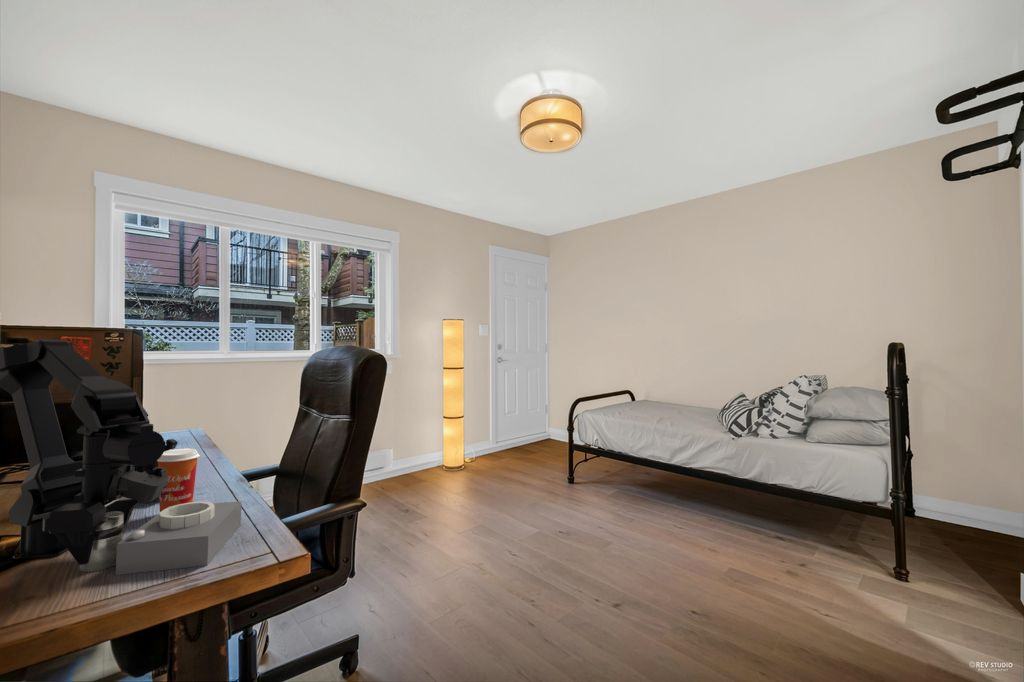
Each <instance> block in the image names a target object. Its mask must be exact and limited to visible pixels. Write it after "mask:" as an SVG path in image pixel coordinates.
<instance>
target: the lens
mask: <svg viewBox="0 0 1024 682" xmlns="http://www.w3.org/2000/svg"><path fill="white" fill-rule="evenodd" d="M123 520H124V513H123V512H119V511H113V512H106V515H105V517H104V519H103V521H106V522H105V523H104V524H103V525H101V526H100V527H99V528H98V529H97V530H96V531H95V535H94V540H93V545H92V551H91V555H90V559H89V563H87V564H85V565H79V570H80V571H81V572H96V571H102V570H104V569H107V568H111V567H114V566H116V555H117V544H118V543H119V542H120V541H122V540H123V539H124V538H123V537H124V534H123V531H124V521H123Z"/></svg>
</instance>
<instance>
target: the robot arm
mask: <svg viewBox="0 0 1024 682" xmlns="http://www.w3.org/2000/svg"><path fill="white" fill-rule="evenodd" d="M54 379H55V380H57V382H58V383H59V384H60V385H61V386H62V387H63V388H64V389H65V390H67V391H68V393H70V395H71V396H72V397H73V399H72V402H71V405H70V407H71V409H72V410H73V411H74V414H75V415H76V416H77V417H78V418H79V420H80V421H81V422H82V424H83V425H81V426H79V428H78V429H77V430H76V432H77V434H83V441H82V447H83V448H82V460H79V461H74V459H72V458H70V457H69V454H68V452H67V449H66V444H65V440H64V438H63V437H64V436H63V433H62V430H61V429H62V428H61V426H60V422H59V418H58V415H57V411H56V408H55V403H54V400H53V397H52V391H51V389H50V387H51V384H52V382H53V381H54ZM0 388H1V389H3V390H4V391H5V392H7V393H8V394H9V395H11V396H12V400H13V401H12V402H13V404H14V405H13V406H14V409H15V413H16V417H17V421H18V425H19V429H20V432H21V436H22V441H23V444H24V449H25V451H26V452H25V453H26V456H27V461H28V464H29V470H28V472H27V474H26V476H24V477H25V478H24V479H23V481H22V483H21V484H20V492H21V494H20V496H19V497H18V498H17V499H16V501H15V502H14V503H13V505H12V506H11V507H10V509H9V510H8V519H9V522H10V524H12V525H13V524H14V525H18V526H20V536H19V537H20V539H19V540H20V541H19V553H24V554H23V555H22V556H20V557H21V559H20V560H26V559H27V560H28V559H38V558H49V557H57V556H60V555H61V554H63V553H65V552H66V551H68V552H69V553H70V554H71V556H72V557H73V558H74V560H75V561H76V563H77V564H78V566H80V565H85V564H87V563H89V559H90V555H91V551H92V545H93V540H94V535H95V531H96V530H97V529H98V528H99V527H100V526H101V525H103V524H104V523H105V522H106V521H103V519H104V517H105V515H106V512H113V511H119V512H123V513H124V520H123V521H124V531H123V535H125V532H126V529H127V526H128V523H129V522H130V518H131V515H132V513H133V511H134V508H135V507H136V506H137V505H139V504H140V503H141V504H151V503H152V502H153V501H154V500H156V499H157V498H158V499H159V497H160V495H161V492H162V490H163V488H164V486H166V485H167V484H168V481H167V480H168V477H167V474H166V469H165V468H161V467H156V468H154V469H153V470H151V471H150V472H149V473H147V472H146V471H144V472H136V471H135V469H134V468H135V465H136V466H147V465H150V464H153V463H154V462H156V461H157V460H158V459H159V458H160V457H161V456H162V454H163V452H164V450H165V446H166V440H165V438H164V437H163V436H162V434H160V433H159V432H157V431H155V430H154V424H153V423H150V419H149V417H148V416H149V414H148V412H147V411H146V409H145V408H144V406H143V404H142V402H141V400H140V399H139V396H138V394H137V393H136V391H135V389H133V388H132V387H130V386H129V385H127V384H125V383H123V382H122V381H118V380H114V379H111V378H107V377H105V376H103V375H102V374H101V373H100V372H99V371H98V370H97V369H95V368H94V367H93V366H92V365H91V364H90V363H89V362H88V361H87V360H86V359H85V358H84V357H82V356H81V355H80V354H79V353H78V352H77V351H76V350H75V348H74V345H73V344H72V342H71V341H67V340H63V339H62V340H60V339H37V340H32V341H30V342H27V343H22V344H18V345H12V346H11V345H10V346H0ZM12 558H15V555H13V556H12V557H11V559H12Z"/></svg>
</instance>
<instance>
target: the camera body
mask: <svg viewBox="0 0 1024 682" xmlns="http://www.w3.org/2000/svg"><path fill="white" fill-rule="evenodd" d="M241 522H242V501H241V500H239V501H226V502H214V503H213V502H210V501H209V502H208V501H194V502H191V503H190V502H189V503H184V504H179V505H175V506H169V507H168V508H166V509H164V510H163V511H161V512H160V511H159V513H158V514H156V515H155V516H154V517H152V518H151V519H150V520H148V521H147V522H146V523H144V524H143V525H141V526H140V527H138V528H137V529H136V530H135V531H132V533H130V534H129V535H127V536H126V537H125V538H123V539H122V541H120V542H119V543H118V544H117V555H116V565H115V575H117V576H119V575H129V574H135V573H136V574H137V573H147V572H156V571H164V570H177V569H184V568H195V567H205V566H208V565H210V563H211V562H212V560H213V559H214V558H216V557H215V556H217V554H218V553H219V552H220V551H221V549H222V548H223V547H224V546H225V545H226V543H228V541H229V540H230V538H232V536H233V535H234V533H235V532H237V530H238V529H239V528H240V526H241V525H242V523H241Z"/></svg>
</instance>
